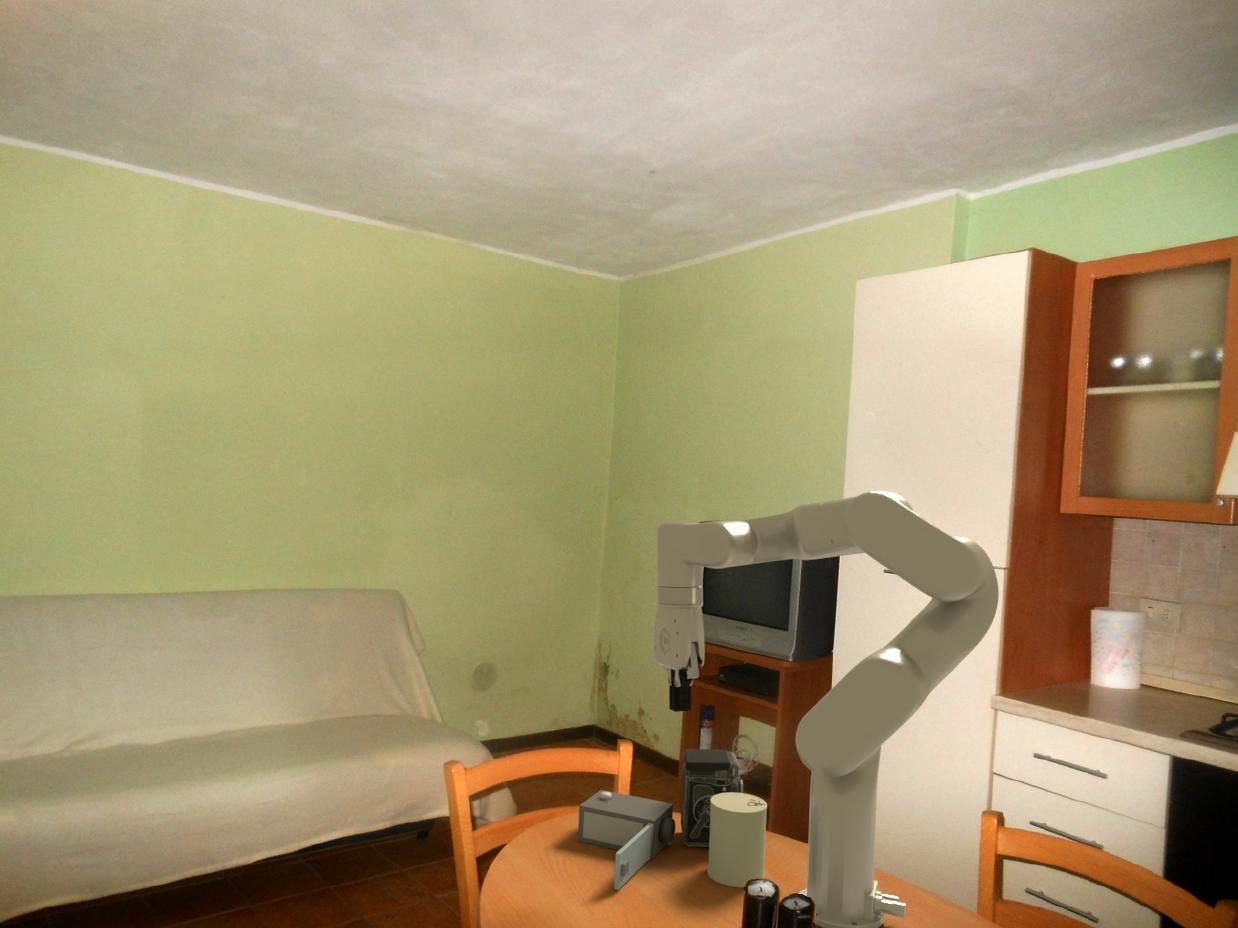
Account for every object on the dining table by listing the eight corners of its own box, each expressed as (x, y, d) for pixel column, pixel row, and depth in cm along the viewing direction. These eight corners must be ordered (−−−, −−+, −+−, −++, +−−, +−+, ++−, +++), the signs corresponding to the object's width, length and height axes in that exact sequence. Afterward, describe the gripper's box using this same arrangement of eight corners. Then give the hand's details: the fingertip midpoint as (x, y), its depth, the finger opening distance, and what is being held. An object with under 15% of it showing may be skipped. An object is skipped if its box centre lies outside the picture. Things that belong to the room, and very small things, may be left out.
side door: (647, 854, 141) (648, 822, 141) (655, 856, 141) (656, 824, 141) (613, 888, 129) (614, 852, 129) (622, 890, 128) (623, 854, 128)
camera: (745, 854, 144) (748, 765, 144) (683, 851, 144) (686, 762, 145) (737, 830, 154) (740, 747, 155) (679, 827, 154) (683, 744, 155)
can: (769, 889, 131) (772, 810, 132) (710, 886, 131) (713, 808, 132) (759, 863, 141) (762, 790, 141) (704, 861, 141) (706, 787, 141)
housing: (680, 840, 149) (681, 800, 149) (662, 859, 140) (663, 817, 141) (599, 822, 155) (601, 785, 155) (577, 840, 146) (579, 800, 147)
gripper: (640, 593, 145) (640, 702, 144) (680, 602, 131) (680, 722, 130) (679, 592, 148) (679, 699, 147) (722, 600, 134) (723, 718, 133)
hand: (680, 709), depth 139 cm, fingers closed
